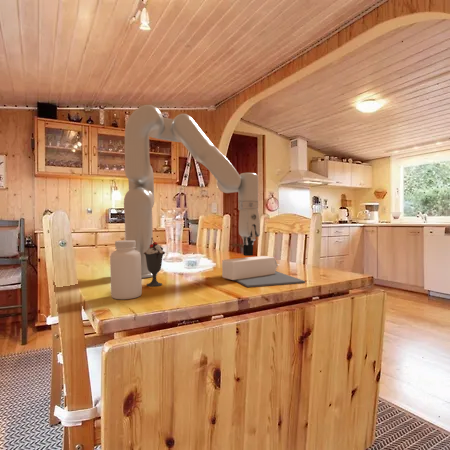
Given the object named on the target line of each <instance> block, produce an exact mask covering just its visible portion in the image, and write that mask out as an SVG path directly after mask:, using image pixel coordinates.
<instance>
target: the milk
mask: <svg viewBox="0 0 450 450" xmlns="http://www.w3.org/2000/svg"><path fill="white" fill-rule="evenodd" d="M221 265H222V266H221V267H222V271H221V272H222V276H221V277H222V278H224V279H227V280H232V281H234V280H237V279H243V278H250V277H257V276H264V275H271V274H275V272H276V271H277V268H278V266H280V264H278V262H277V259H276V258H275V257H274V256H272V257H271V256H267V255H260V256H250V257H249V256H246V257H240V258H239V257H237V258H230V259H222V263H221Z"/></svg>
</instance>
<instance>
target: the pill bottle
mask: <svg viewBox="0 0 450 450" xmlns="http://www.w3.org/2000/svg"><path fill="white" fill-rule="evenodd" d="M135 246H136V241H135V240H125V239H123V240H115V241H114V247H115V251H113V252H112V253H110V257H109V260H110V261H109V263H110V266H109V267H110V269H109V270H110V295H111V298H112V299H115V300H129V299H131V300H132V299H136V298H139V297H141V295H142V293H143V292H142V291H143V287H142V284H143V283H142V279H143V278H141V254H140V252H139V251H137V250H135V248H136V247H135Z"/></svg>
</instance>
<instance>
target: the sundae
mask: <svg viewBox="0 0 450 450" xmlns="http://www.w3.org/2000/svg"><path fill="white" fill-rule="evenodd" d="M151 239H152V240H153V244H152V240H151V245H150V247H149V248H148V250H147V252H144V254H145V256H146V262H147V268H148V271H149V272H150V273H152V275H153V277H152V280H151V282H148V283H146V286H147V287H151V288H152V287H155V288H157V287H160V286H163V283H161V282H158V280H157V275H158V273H159V272H160V271H161V268H162V263H163V257H164V255H166V254H165V253H166V252H165V251H164V247H162V246H161V245H159V244H158V242H155V241H154V237H152V238H151ZM156 274H157V275H156Z"/></svg>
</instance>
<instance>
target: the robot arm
mask: <svg viewBox="0 0 450 450" xmlns="http://www.w3.org/2000/svg"><path fill="white" fill-rule="evenodd" d="M150 138H153V139H157V140H164V141H170V142H175V143H176V142H177V143H181V144H182V145H183V146H184V147H185V148H186V150H187V152H189V154H190V155H191V156H192V158H193V159H194V160H195V161H196V162H198V163H199V164H201V165H203V166H204V167H205V168H206V169H207V170H208V171H209V173H210V174H211V175H213V177H214V178H215V179H216V185H217V189H218V190H219V191H220V192H222V193H225V194H231V193H238V194H237V198H238V199H237V203H238V205H237V206H238V207H237V209H238V211H239V214H238V235H239V236H240V237H241V239H242V246H243V247H242V248H243V256H245V257H249V256H250V257H253V255H254V244H255V243H254V242H255V241H256V240H257V239H256V238H258V237H260V235H261V225H260V223H261V222H260V213H259V212H260V211H259V175H258V174H257V173H255V172H242V173H240V174H239V172H238V171H237V169H236V168H235V166H234V165H233V164H232V163H231V162H230V160H229V159H228V157H226V156H225V155H224V154H223V153H222V152H221V151H220V149H218V147H216V145H214V144H213V143H212V141H211V140H210V139H209V137H208V136H207V135H206V134H205V132H204V131H203V130H202V129H201V127H200V126H199V125H198V123H197V122H196V121H195V120H194V119H193V117H192V116H190V115H189V114H187V113H179V114H178V115H176V116H175V117H173V118H170V117H169V118H168V117H163V114H162V112H161V110H160V109H159V108H158V107H157V106H154V105H152V104H144V105H142V106H140V107H137V108H136V109H135V110H134V111H133V112H132V113H131V114H130V115H129V116H128V118H127V121H126V123H125V129H124V174H125V176H126V178H127V179H128V191H127V192H126V193H125V195H124V199H123V211H124V236H125V237H124V238H125V239H124V240H135V241H136V246H135V247H136V248H135V250H137V251H139V252H140V254H141V279H145V278H146V279H147V278H151V277H152V278H153V275H152V273H150V272H149V271H148V268H147V262H146V256H145V254H144V252H147V250H148V248H149V247H150V245H151V240H152V239H151V238H152V237H153V231H154V230H153V207H154V205H155V183H154V182H155V178H154V177H155V176H154V169H153V167H152V165H151V160H150ZM153 238H154V237H153ZM153 243H154V239H153V240H152V244H153ZM156 276H158V273H157V274H156Z"/></svg>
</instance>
